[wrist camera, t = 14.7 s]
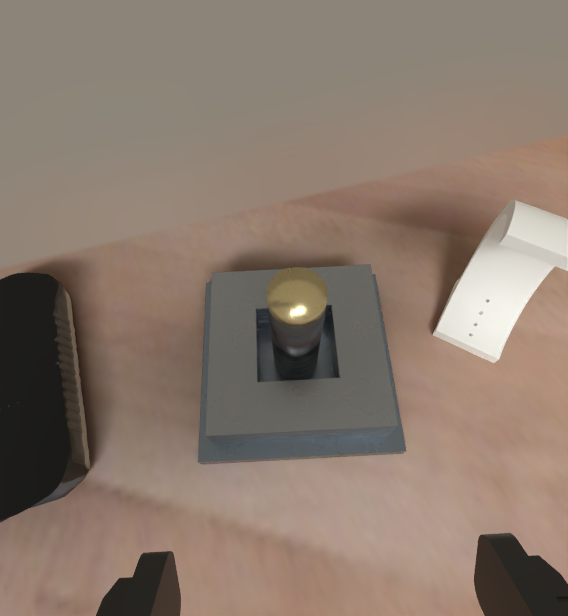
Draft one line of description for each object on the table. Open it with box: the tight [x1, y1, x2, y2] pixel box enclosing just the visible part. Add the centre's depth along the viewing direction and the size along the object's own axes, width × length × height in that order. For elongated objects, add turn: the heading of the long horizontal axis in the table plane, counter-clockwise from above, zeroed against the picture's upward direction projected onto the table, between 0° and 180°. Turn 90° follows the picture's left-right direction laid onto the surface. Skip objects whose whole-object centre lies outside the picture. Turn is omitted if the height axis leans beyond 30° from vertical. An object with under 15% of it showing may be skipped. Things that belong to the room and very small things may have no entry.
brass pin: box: [267, 267, 328, 380], centre depth 24 cm, size 3×3×10 cm
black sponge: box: [0, 273, 90, 522], centre depth 28 cm, size 16×8×4 cm, turn 19°
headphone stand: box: [433, 200, 568, 363], centre depth 26 cm, size 5×6×12 cm
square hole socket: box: [198, 264, 406, 464], centre depth 28 cm, size 13×13×4 cm
